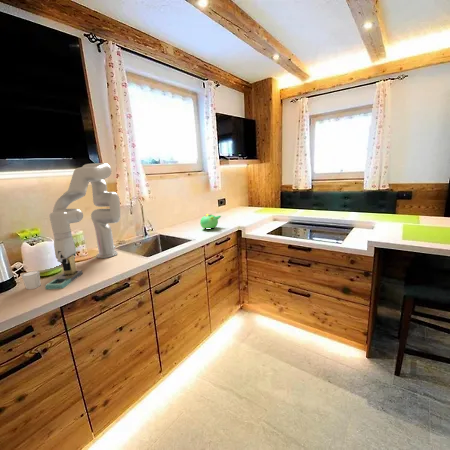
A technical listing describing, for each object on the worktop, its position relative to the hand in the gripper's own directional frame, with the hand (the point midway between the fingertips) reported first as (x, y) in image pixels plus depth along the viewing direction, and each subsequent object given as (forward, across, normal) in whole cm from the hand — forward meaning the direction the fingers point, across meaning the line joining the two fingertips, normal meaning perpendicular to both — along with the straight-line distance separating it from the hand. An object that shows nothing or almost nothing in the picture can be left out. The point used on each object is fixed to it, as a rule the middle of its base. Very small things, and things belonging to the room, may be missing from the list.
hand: (69, 268), depth 124 cm
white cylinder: (+5, +10, -13) cm, 17 cm away
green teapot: (+8, -96, +72) cm, 120 cm away
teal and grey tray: (+5, +5, 0) cm, 7 cm away
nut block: (+3, 0, 0) cm, 3 cm away
